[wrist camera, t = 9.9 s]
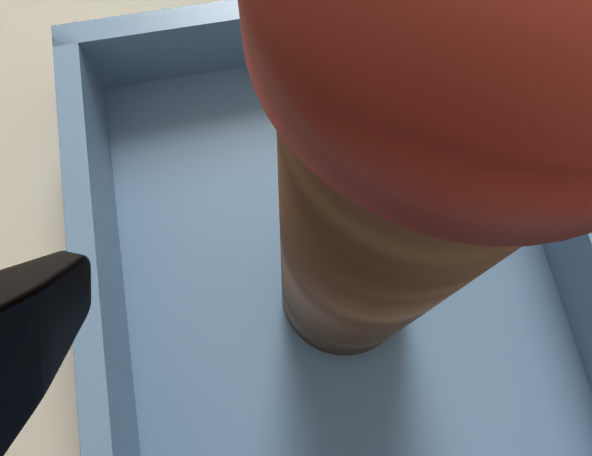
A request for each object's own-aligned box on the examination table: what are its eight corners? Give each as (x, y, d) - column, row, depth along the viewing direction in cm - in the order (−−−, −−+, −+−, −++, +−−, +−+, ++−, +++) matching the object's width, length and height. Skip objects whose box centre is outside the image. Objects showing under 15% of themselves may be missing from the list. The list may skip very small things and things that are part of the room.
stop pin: (440, 284, 18) (989, -155, 4) (354, 396, 17) (696, 335, 3) (332, 200, 19) (468, -407, 5) (243, 301, 18) (83, -108, 4)
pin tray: (662, 567, 17) (757, 609, 13) (141, 687, 16) (101, 766, 12) (478, 24, 22) (511, -42, 19) (88, 84, 21) (51, 25, 18)
